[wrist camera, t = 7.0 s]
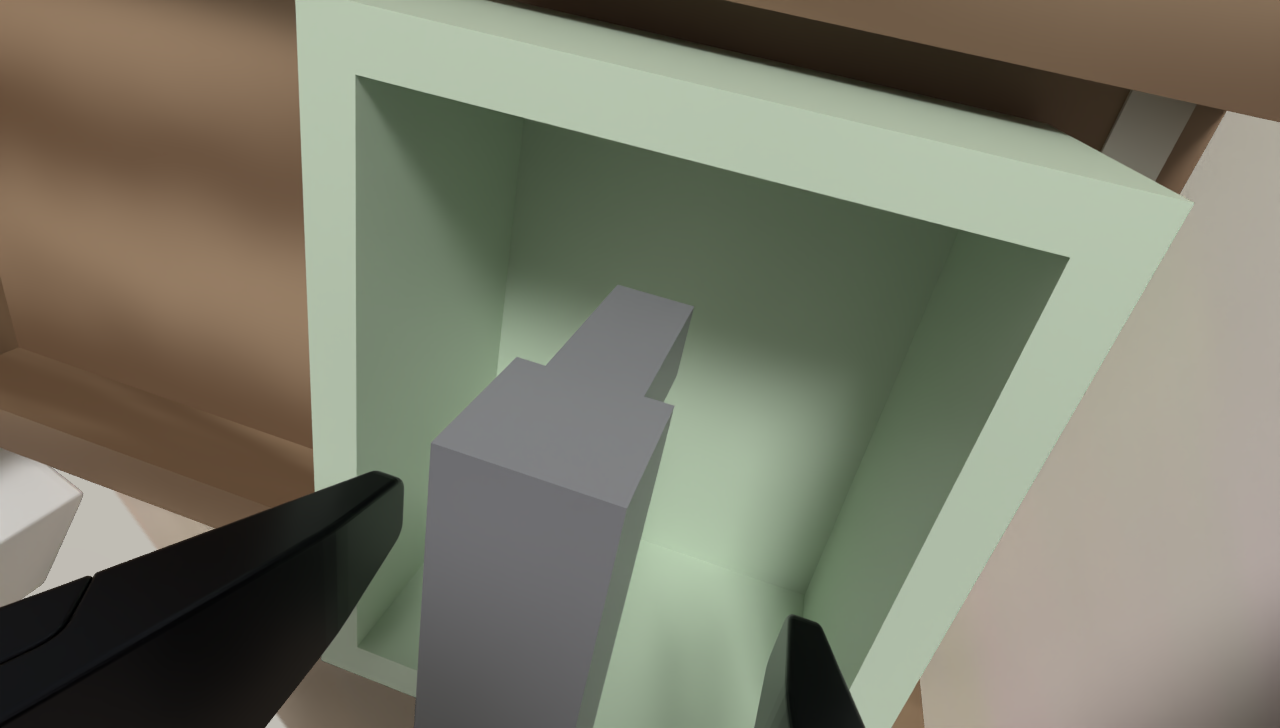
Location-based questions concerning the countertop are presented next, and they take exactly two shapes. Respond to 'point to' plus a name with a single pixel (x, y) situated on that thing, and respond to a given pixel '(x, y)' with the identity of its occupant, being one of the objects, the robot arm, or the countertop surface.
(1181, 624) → the countertop surface
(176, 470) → the bay
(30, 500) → the milk carton
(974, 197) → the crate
